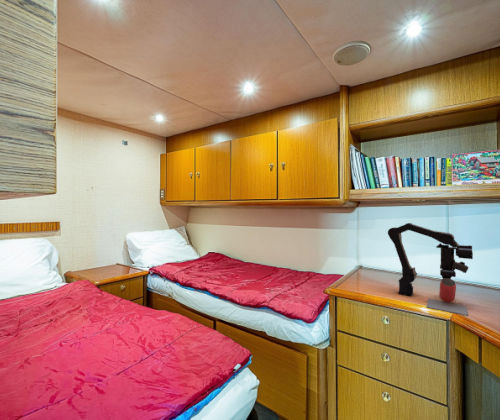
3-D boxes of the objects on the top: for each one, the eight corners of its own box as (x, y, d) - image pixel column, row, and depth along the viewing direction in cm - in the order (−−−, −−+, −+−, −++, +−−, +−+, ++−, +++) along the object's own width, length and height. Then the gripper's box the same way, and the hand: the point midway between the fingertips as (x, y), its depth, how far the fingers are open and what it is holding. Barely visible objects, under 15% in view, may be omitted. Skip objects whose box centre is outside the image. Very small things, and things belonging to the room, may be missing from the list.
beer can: (455, 295, 135) (456, 278, 130) (454, 304, 131) (456, 288, 126) (439, 292, 139) (440, 276, 134) (438, 300, 135) (439, 284, 130)
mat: (426, 307, 128) (426, 306, 128) (428, 299, 139) (428, 298, 139) (468, 316, 118) (468, 315, 118) (466, 306, 129) (466, 305, 129)
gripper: (468, 261, 123) (468, 293, 123) (465, 255, 138) (465, 284, 138) (440, 259, 129) (440, 289, 130) (439, 253, 144) (440, 280, 145)
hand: (447, 285), depth 135 cm, fingers closed
